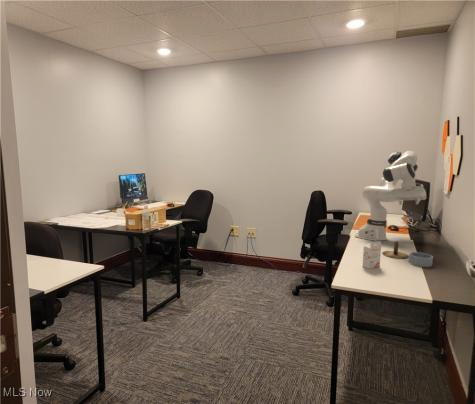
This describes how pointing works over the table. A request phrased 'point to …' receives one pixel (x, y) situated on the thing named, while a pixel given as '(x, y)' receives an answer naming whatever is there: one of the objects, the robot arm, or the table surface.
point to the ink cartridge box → (372, 255)
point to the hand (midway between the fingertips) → (408, 203)
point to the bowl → (420, 259)
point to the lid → (395, 253)
